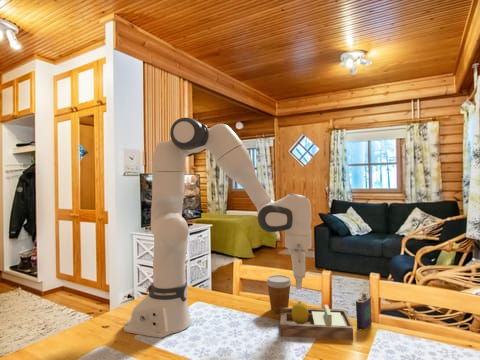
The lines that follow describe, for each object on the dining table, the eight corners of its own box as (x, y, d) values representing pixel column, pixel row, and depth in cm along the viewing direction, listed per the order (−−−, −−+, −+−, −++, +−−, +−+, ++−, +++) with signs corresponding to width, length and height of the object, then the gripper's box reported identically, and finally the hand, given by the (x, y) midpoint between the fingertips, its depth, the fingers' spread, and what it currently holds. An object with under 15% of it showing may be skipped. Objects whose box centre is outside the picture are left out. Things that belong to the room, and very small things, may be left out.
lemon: (308, 330, 98) (308, 305, 98) (291, 328, 99) (291, 304, 99) (308, 322, 104) (308, 298, 104) (292, 321, 105) (291, 297, 105)
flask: (365, 318, 106) (364, 288, 106) (374, 321, 104) (373, 290, 104) (355, 328, 99) (354, 296, 100) (364, 331, 97) (363, 298, 98)
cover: (314, 327, 96) (314, 315, 96) (311, 313, 106) (311, 302, 106) (346, 328, 94) (346, 317, 94) (340, 314, 105) (339, 303, 105)
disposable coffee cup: (274, 303, 122) (274, 273, 122) (296, 308, 116) (295, 277, 116) (262, 311, 114) (261, 279, 114) (284, 317, 108) (284, 284, 108)
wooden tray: (280, 336, 95) (280, 324, 95) (280, 316, 109) (280, 306, 109) (353, 339, 92) (353, 328, 92) (344, 319, 106) (343, 309, 106)
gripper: (310, 248, 91) (310, 295, 91) (305, 237, 111) (305, 275, 111) (289, 248, 92) (288, 293, 92) (288, 236, 112) (288, 274, 112)
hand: (298, 283), depth 101 cm, fingers open, 8 cm apart
